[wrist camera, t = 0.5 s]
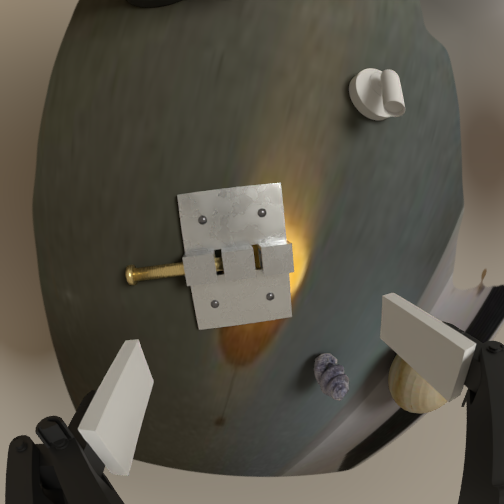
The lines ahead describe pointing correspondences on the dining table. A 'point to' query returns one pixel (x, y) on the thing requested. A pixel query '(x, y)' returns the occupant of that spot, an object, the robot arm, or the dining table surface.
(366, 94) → the wall hook
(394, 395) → the decorative ball
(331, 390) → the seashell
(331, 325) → the dining table surface
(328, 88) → the dining table surface
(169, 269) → the pin
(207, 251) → the hinge leaves
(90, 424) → the robot arm
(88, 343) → the dining table surface
